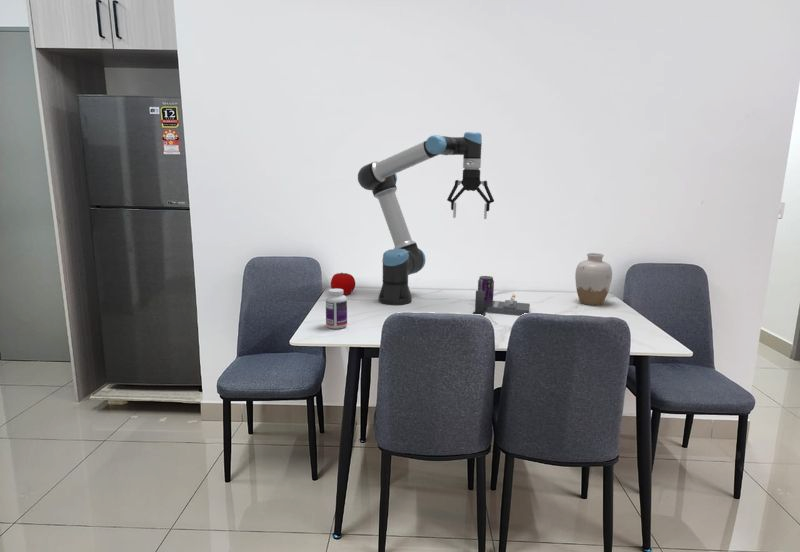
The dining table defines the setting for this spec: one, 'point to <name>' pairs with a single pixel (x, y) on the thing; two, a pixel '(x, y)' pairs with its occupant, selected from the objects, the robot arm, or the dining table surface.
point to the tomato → (343, 282)
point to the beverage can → (486, 286)
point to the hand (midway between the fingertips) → (469, 218)
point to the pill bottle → (336, 309)
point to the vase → (593, 279)
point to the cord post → (479, 303)
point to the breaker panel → (506, 307)
